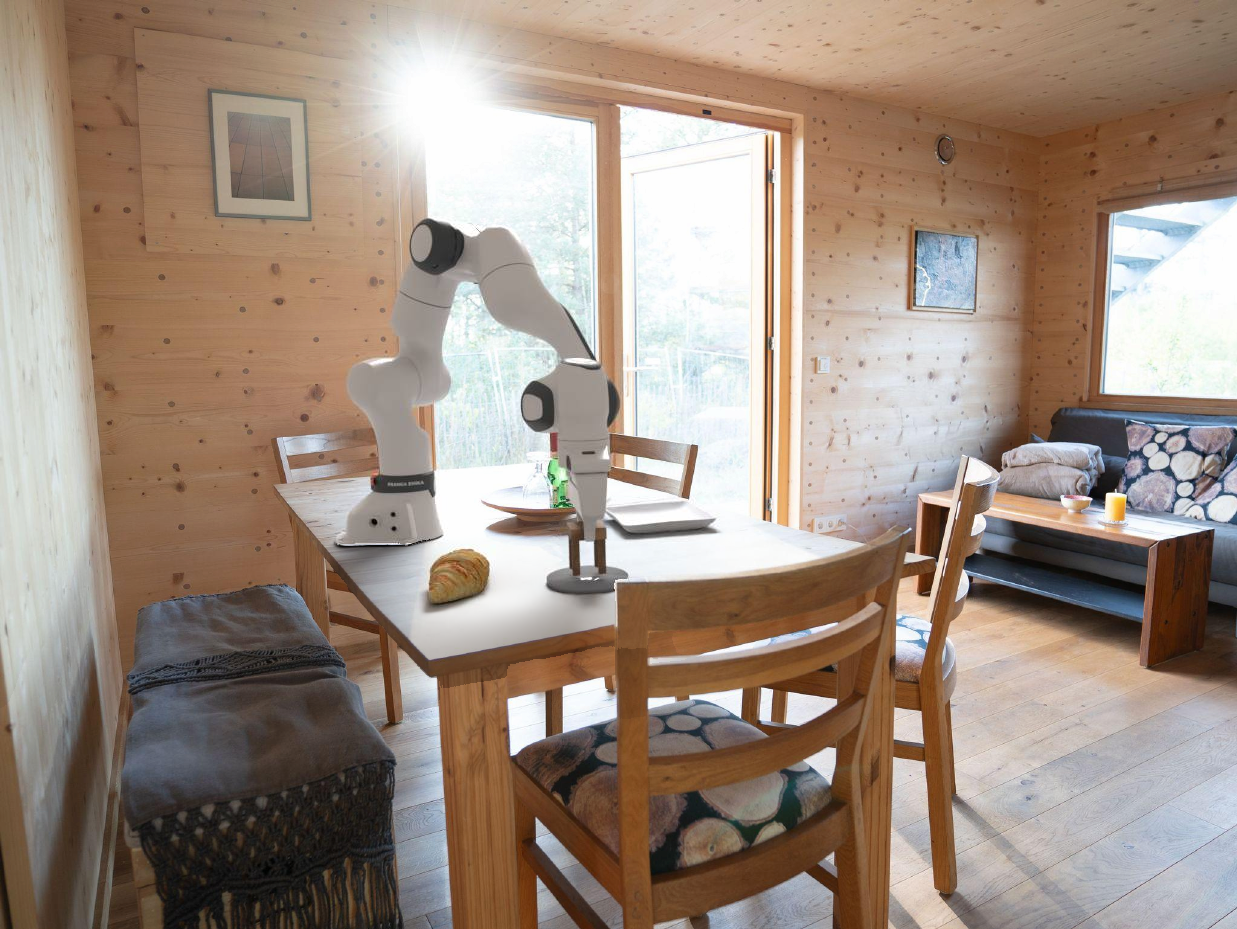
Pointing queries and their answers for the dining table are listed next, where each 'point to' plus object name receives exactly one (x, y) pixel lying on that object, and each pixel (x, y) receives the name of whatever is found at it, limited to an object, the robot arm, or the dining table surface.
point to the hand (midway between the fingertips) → (586, 535)
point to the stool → (577, 535)
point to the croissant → (458, 575)
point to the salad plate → (660, 517)
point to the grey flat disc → (585, 580)
